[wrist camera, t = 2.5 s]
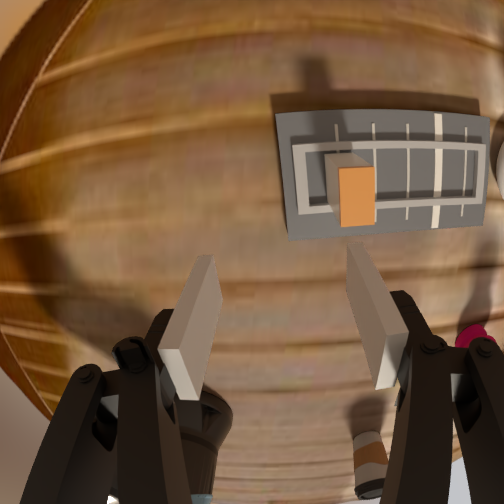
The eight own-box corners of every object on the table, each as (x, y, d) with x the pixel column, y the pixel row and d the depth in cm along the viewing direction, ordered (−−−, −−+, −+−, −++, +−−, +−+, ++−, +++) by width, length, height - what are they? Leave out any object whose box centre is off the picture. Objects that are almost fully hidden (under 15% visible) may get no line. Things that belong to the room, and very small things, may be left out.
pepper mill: (465, 319, 41) (519, 411, 24) (491, 322, 42) (543, 405, 24) (445, 352, 45) (487, 443, 27) (471, 353, 45) (513, 436, 27)
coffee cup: (341, 443, 58) (346, 500, 45) (364, 426, 55) (374, 486, 41) (368, 447, 60) (376, 500, 46) (391, 430, 56) (403, 486, 43)
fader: (327, 200, 32) (340, 227, 26) (324, 153, 30) (338, 168, 24) (354, 198, 32) (374, 224, 25) (352, 152, 30) (374, 167, 23)
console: (287, 233, 37) (288, 244, 35) (275, 113, 31) (275, 114, 28) (475, 219, 34) (485, 228, 32) (480, 115, 28) (493, 118, 25)
